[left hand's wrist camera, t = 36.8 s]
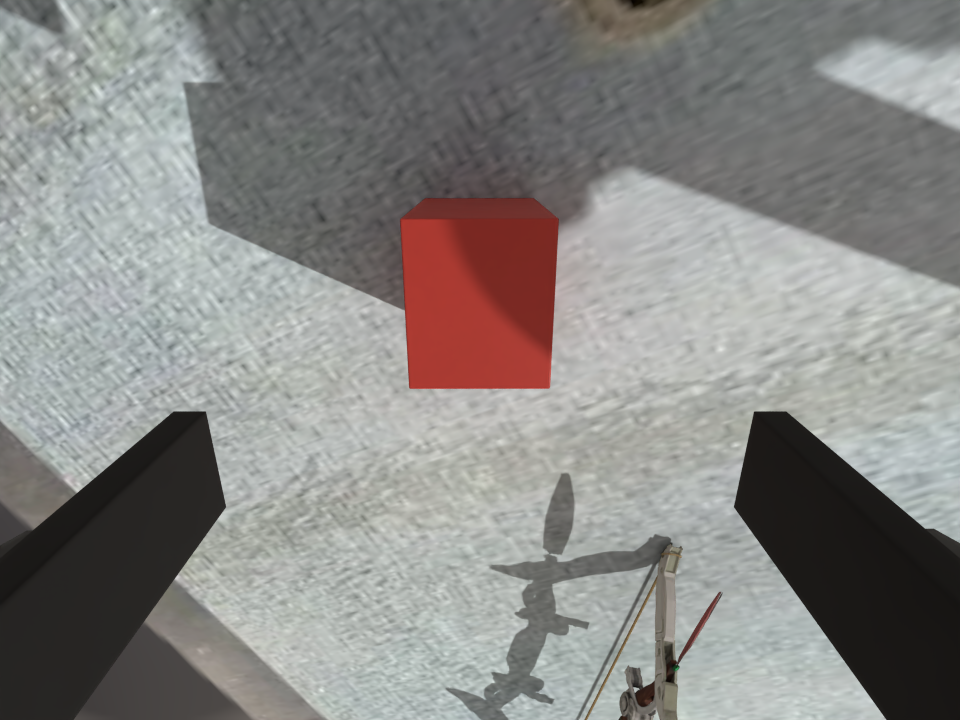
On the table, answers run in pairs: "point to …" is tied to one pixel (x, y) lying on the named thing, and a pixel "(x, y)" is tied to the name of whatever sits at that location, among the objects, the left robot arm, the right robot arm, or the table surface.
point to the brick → (479, 293)
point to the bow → (658, 651)
